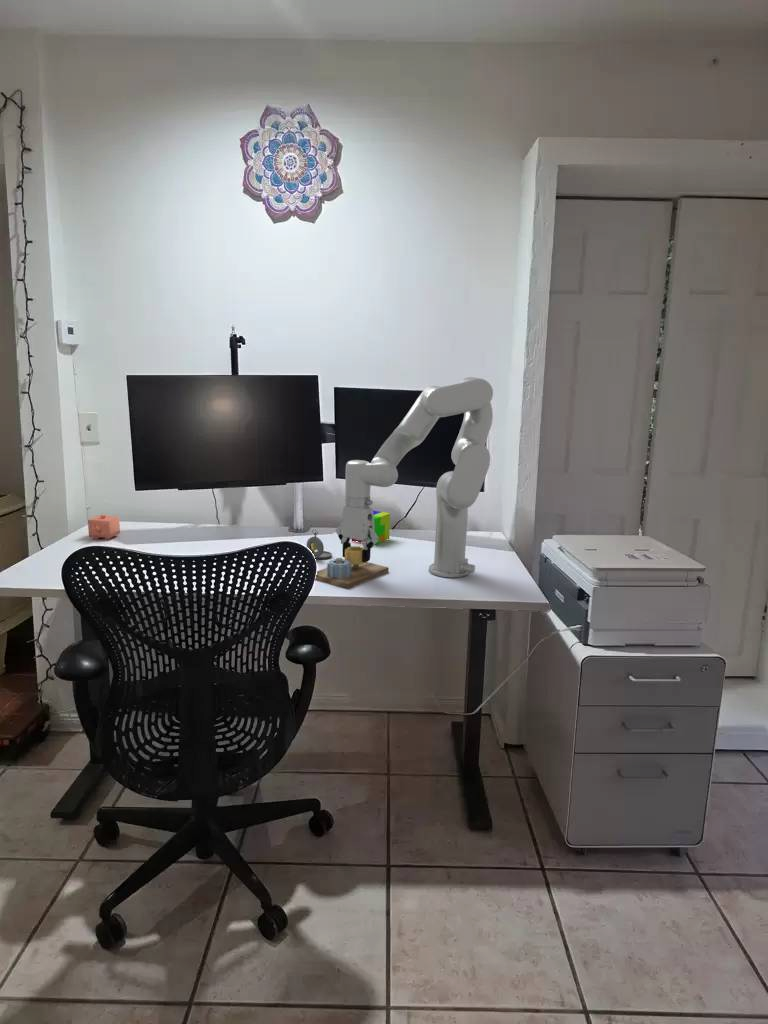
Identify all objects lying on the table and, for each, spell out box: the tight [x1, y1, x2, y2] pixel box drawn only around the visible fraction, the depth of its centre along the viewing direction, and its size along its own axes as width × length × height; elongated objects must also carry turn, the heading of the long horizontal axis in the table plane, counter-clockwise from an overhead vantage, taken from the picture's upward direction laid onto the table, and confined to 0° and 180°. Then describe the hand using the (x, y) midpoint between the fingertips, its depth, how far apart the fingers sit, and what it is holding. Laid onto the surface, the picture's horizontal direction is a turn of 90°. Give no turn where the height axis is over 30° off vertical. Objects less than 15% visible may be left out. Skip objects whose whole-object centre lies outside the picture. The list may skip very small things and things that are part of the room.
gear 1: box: [326, 558, 351, 579], centre depth 194 cm, size 7×7×4 cm
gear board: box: [315, 557, 390, 590], centre depth 199 cm, size 14×20×6 cm
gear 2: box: [344, 545, 369, 565], centre depth 200 cm, size 7×7×4 cm
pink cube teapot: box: [87, 514, 121, 540], centre depth 229 cm, size 8×12×8 cm, turn 174°
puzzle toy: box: [350, 510, 391, 546], centre depth 237 cm, size 10×10×10 cm
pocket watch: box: [306, 529, 333, 560], centre depth 215 cm, size 8×8×10 cm
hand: (356, 558), depth 200 cm, fingers closed on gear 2, 6 cm apart
